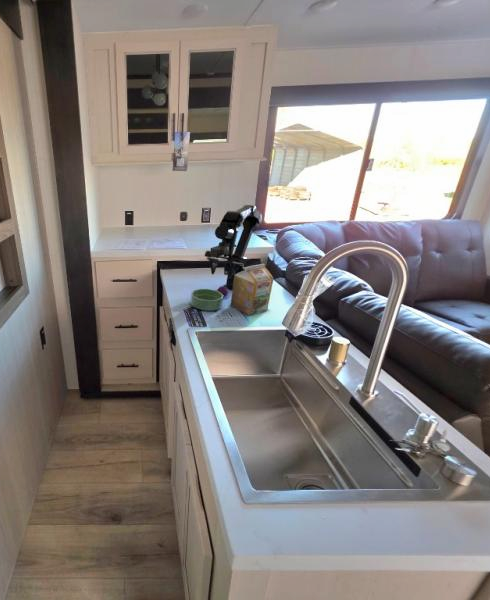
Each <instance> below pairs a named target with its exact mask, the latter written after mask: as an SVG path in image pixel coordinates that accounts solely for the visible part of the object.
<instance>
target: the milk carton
mask: <svg viewBox="0 0 490 600" xmlns="http://www.w3.org/2000/svg"><path fill="white" fill-rule="evenodd" d="M265 266H266V264H265V263H260V264H256V265H255V264H254V265H249V266H246V267H245V271H242V272H239V273H237V274H236V275H235V276H234V283H233V290H232V292H231V299H230V304H229V306H230V307H231V308H233V309H236V310H238V311H239V312H241V313H243V314H245V315H247V316H252V315H256V314H259V313H263V312H266V311H268V308H269V304H270V298H271V293H272V289H273V283H274V277H273V275H272V274H271V273H270V271H269V270H268V269H267V268H266V267H265Z"/></svg>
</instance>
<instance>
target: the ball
mask: <svg viewBox="0 0 490 600" xmlns="http://www.w3.org/2000/svg"><path fill="white" fill-rule="evenodd" d="M216 291H218V292H220V293H222V294H223V298H226V297H227V296H228V295H229V288H227V287H224V285H222V286H219V287H218V288H217V290H216Z"/></svg>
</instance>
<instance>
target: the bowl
mask: <svg viewBox="0 0 490 600" xmlns="http://www.w3.org/2000/svg"><path fill="white" fill-rule="evenodd" d="M223 300H224V297H223V294H222V293H220V292H218V291H217V290H215V289H211V288H199V289H198V288H197V289H194V290H193V291H191V295H190V304H191V306H192V307H194V308H195V309H198V310H202V311H211V312H212V311H218V310H220V309H221V308H222V307H223V302H224V301H223Z"/></svg>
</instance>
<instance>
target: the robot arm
mask: <svg viewBox="0 0 490 600" xmlns="http://www.w3.org/2000/svg"><path fill="white" fill-rule="evenodd" d="M262 216H263V215H262V212H260V211H259V210H258V209H257V207H256V206H255V205H252V204H246V205H243V206H242V207H241V208H239V209H237V210H228V211H226V212H225V214H224V215H223V217H222V219H221V220H220V223H219V225H218V226H217V227H216V228H215V230H214V235H215V237H216V238H217V239H219V240H221V241H219V243H218V245H216V246H213V247H210V250H206V251H205V253H204V257H205V258H206V260H208V262H209V265H210V273H211V275H214V274H215V273H216V269H217V268H218V267H217V266H218V264H219V262H220V259H223V260H226V262H225V263H224V266H223V275H224V276H227V277H226V281H225V282H226V283H225V284H223V286H224V287H226V288H227V289H228V290H232V291H233V283H234V276H235V275H236V274H237V273H239V272H242V271H245V270H246V268H245V265H247V261H248V260H247V259H248V258H247V257H246V256H245V253H246V251H247V249H248V246H249V243H250V241H251V238H252V235H253V233H255V231H256V230H258V229H259V227H260V225H261V224H262V223H263V222H262V221H263V217H262ZM241 226H242V227H243V228H242V231H241V234H240V236H239V238H238V233H239V228H241ZM237 238H238V242H237ZM236 242H237V244H236ZM234 249H235V250H234Z"/></svg>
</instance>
